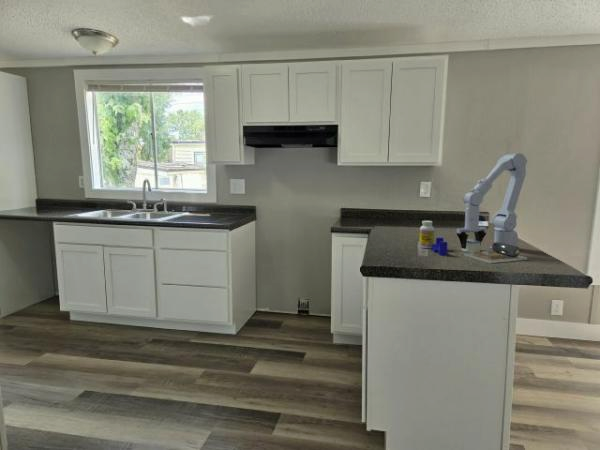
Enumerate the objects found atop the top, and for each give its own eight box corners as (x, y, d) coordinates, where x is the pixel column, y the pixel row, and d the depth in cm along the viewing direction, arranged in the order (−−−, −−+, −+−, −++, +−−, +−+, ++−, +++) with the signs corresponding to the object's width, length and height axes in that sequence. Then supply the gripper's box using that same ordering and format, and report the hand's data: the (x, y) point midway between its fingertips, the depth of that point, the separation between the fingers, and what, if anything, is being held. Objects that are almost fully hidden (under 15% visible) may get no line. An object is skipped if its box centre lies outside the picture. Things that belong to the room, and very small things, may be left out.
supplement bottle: (418, 248, 191) (419, 221, 189) (419, 245, 197) (420, 220, 196) (433, 249, 189) (434, 222, 187) (434, 246, 195) (434, 220, 193)
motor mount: (498, 252, 179) (498, 240, 178) (527, 259, 164) (527, 247, 163) (464, 255, 174) (464, 243, 174) (490, 263, 159) (491, 250, 158)
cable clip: (432, 250, 187) (432, 237, 186) (442, 250, 186) (442, 237, 186) (436, 255, 176) (436, 242, 175) (446, 255, 175) (447, 242, 174)
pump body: (469, 249, 187) (470, 239, 187) (480, 252, 181) (480, 241, 180) (461, 250, 186) (461, 239, 185) (471, 253, 179) (472, 242, 179)
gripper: (479, 216, 187) (477, 245, 189) (452, 218, 183) (451, 247, 185) (490, 218, 180) (488, 247, 182) (462, 220, 176) (461, 250, 178)
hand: (470, 247), depth 183 cm, fingers open, 7 cm apart
